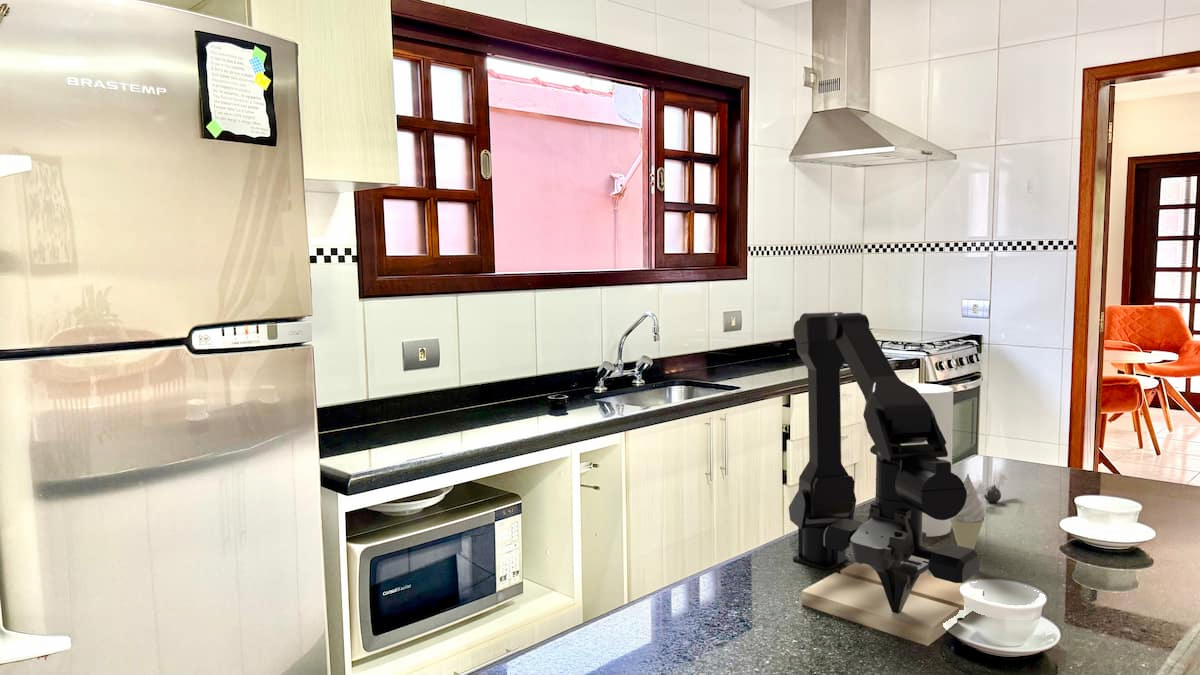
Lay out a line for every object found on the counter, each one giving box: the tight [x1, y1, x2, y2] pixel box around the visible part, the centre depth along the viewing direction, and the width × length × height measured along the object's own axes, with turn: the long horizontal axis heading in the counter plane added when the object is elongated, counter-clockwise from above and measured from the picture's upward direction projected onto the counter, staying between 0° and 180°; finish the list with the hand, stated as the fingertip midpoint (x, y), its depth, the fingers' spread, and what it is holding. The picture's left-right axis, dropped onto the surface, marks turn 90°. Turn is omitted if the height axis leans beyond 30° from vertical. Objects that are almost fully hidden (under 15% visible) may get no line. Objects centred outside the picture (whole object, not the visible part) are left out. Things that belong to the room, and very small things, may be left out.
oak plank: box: [801, 572, 959, 647], centre depth 111 cm, size 18×9×2 cm, turn 44°
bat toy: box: [975, 474, 1009, 504], centre depth 159 cm, size 3×15×5 cm, turn 130°
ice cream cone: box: [950, 473, 986, 550], centre depth 126 cm, size 5×5×15 cm
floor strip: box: [840, 562, 964, 610], centre depth 118 cm, size 18×8×2 cm, turn 44°
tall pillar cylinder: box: [900, 382, 954, 538], centre depth 145 cm, size 11×11×25 cm
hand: (896, 612), depth 107 cm, fingers closed, pressing on oak plank
